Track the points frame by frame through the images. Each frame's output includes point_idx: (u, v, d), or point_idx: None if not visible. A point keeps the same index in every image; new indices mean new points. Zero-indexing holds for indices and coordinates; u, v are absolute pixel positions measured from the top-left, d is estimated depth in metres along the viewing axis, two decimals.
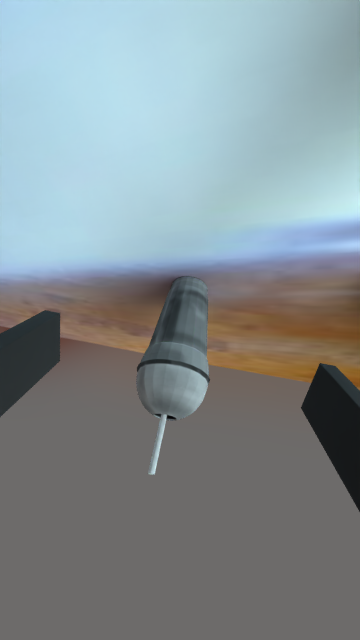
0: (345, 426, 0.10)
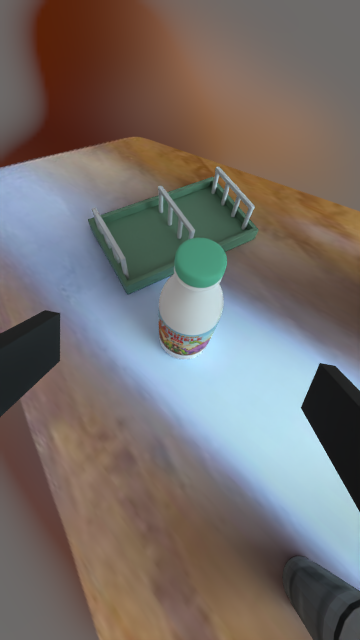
0: (345, 426, 0.10)
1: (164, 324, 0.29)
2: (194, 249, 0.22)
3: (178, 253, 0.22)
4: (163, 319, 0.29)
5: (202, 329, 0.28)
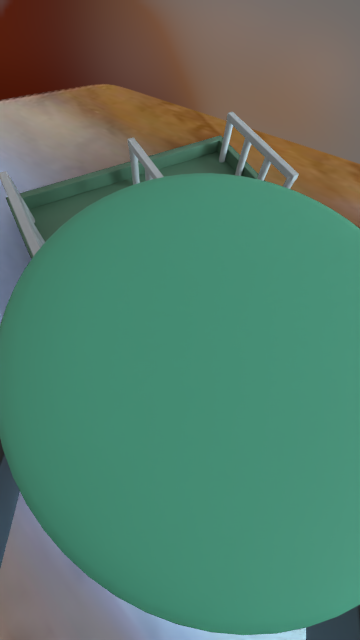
0: None
1: None
2: (172, 253, 0.03)
3: (26, 289, 0.02)
4: None
5: None
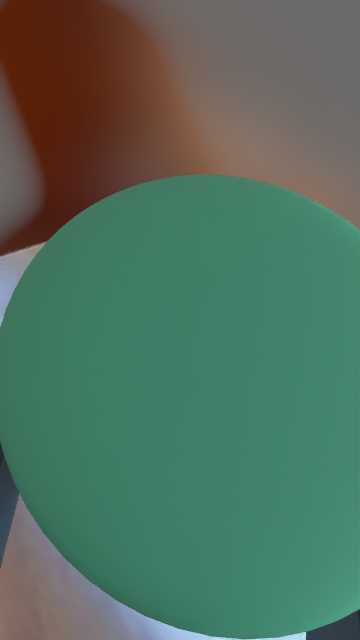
0: None
1: None
2: (173, 255, 0.03)
3: (26, 291, 0.02)
4: None
5: None
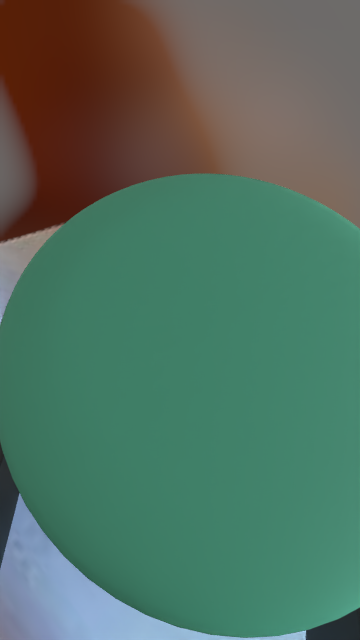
0: None
1: None
2: (173, 254, 0.03)
3: (26, 290, 0.02)
4: None
5: None
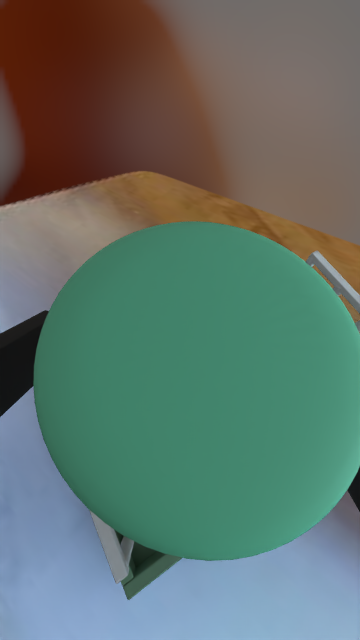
0: None
1: None
2: (164, 292, 0.03)
3: (55, 322, 0.03)
4: None
5: None
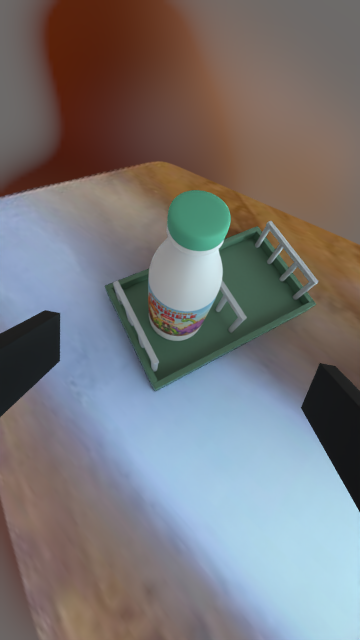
0: (345, 426, 0.10)
1: (154, 298, 0.26)
2: (192, 203, 0.18)
3: (172, 206, 0.18)
4: (153, 292, 0.25)
5: (197, 304, 0.24)
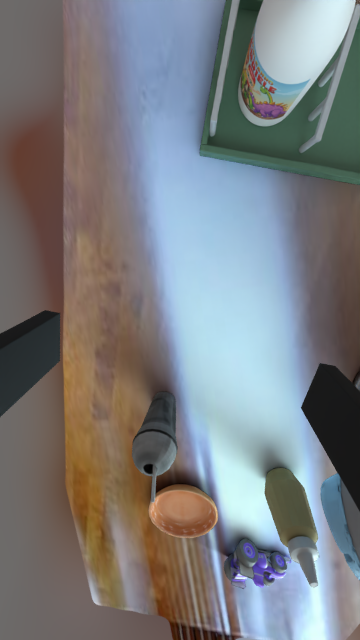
0: (345, 426, 0.10)
1: (253, 34, 0.23)
2: None
3: None
4: (256, 23, 0.22)
5: (281, 72, 0.22)
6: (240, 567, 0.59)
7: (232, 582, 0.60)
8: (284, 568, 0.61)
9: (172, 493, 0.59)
